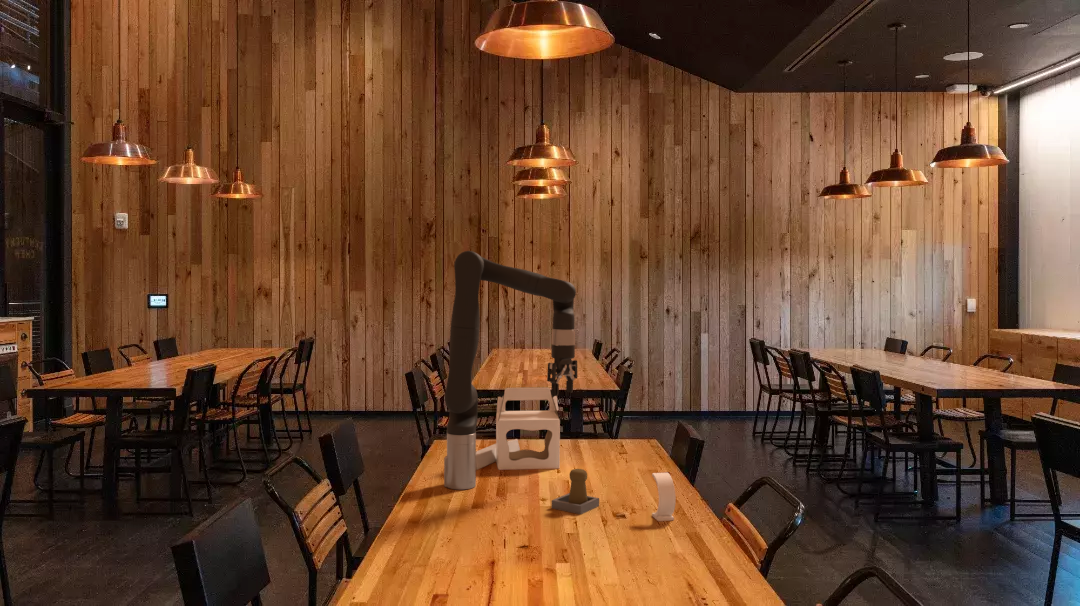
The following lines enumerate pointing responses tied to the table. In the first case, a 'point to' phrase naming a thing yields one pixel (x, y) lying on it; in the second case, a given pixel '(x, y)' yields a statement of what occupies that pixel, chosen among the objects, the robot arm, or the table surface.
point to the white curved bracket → (665, 497)
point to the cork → (578, 486)
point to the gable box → (528, 422)
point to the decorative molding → (493, 453)
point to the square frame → (563, 504)
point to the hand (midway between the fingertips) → (562, 393)
